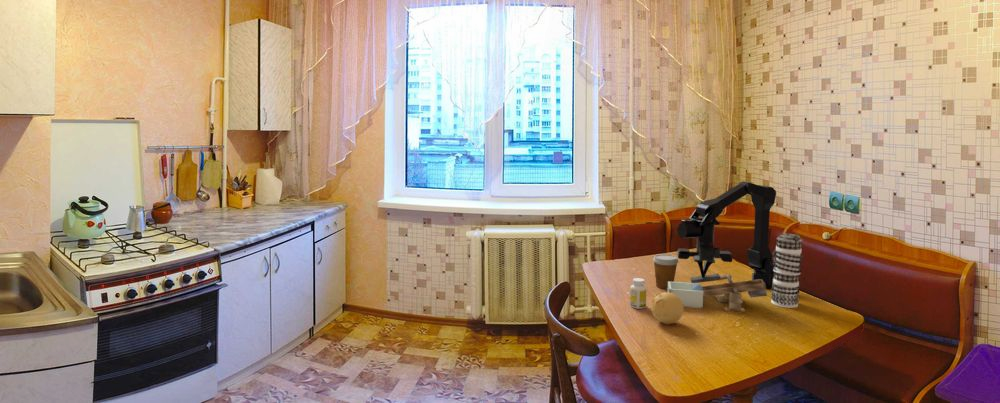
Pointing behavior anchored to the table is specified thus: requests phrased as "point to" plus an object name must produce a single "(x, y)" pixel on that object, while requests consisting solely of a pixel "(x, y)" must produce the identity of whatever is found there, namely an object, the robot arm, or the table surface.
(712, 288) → the lever
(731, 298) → the fulcrum stand
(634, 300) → the supplement bottle
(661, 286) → the disposable coffee cup
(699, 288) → the ball
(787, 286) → the decorative candle
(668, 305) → the stress ball
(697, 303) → the white storage tray
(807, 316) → the table surface
